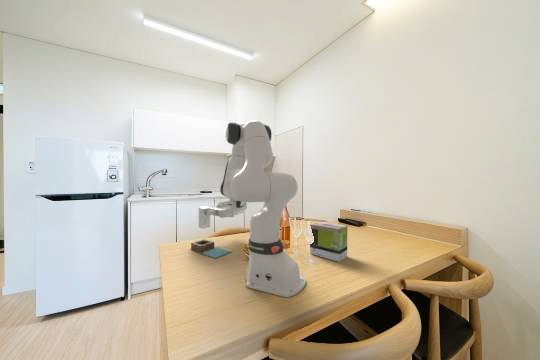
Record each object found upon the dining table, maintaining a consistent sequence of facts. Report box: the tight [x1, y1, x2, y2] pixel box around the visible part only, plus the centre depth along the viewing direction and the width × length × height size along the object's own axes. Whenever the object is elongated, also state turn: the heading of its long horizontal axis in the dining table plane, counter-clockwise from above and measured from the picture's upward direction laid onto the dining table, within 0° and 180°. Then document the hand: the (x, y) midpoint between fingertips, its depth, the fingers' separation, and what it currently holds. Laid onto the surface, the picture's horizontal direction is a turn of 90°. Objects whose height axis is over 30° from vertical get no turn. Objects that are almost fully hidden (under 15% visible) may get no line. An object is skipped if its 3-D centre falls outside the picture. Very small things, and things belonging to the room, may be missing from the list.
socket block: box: [190, 238, 215, 253], centre depth 105 cm, size 8×8×3 cm
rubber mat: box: [201, 246, 232, 259], centre depth 99 cm, size 10×10×1 cm
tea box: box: [309, 221, 348, 263], centre depth 97 cm, size 15×10×15 cm
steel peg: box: [198, 207, 211, 230], centre depth 104 cm, size 4×4×10 cm
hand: (202, 212), depth 103 cm, fingers closed on steel peg, 4 cm apart
